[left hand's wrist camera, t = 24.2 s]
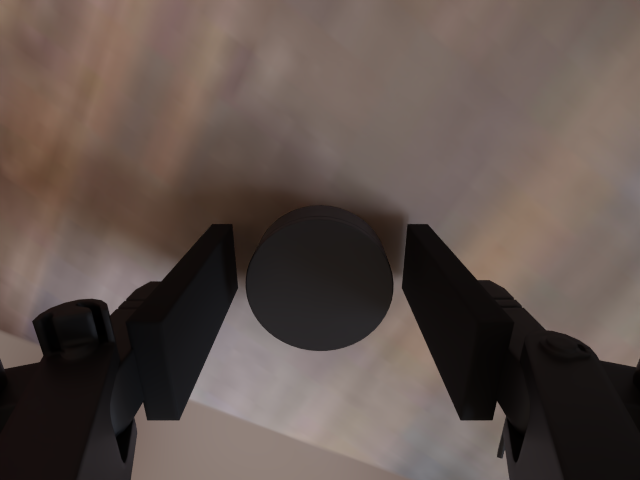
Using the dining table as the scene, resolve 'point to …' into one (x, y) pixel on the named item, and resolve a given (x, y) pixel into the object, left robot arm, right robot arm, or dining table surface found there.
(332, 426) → the dining table surface
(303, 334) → the lid
